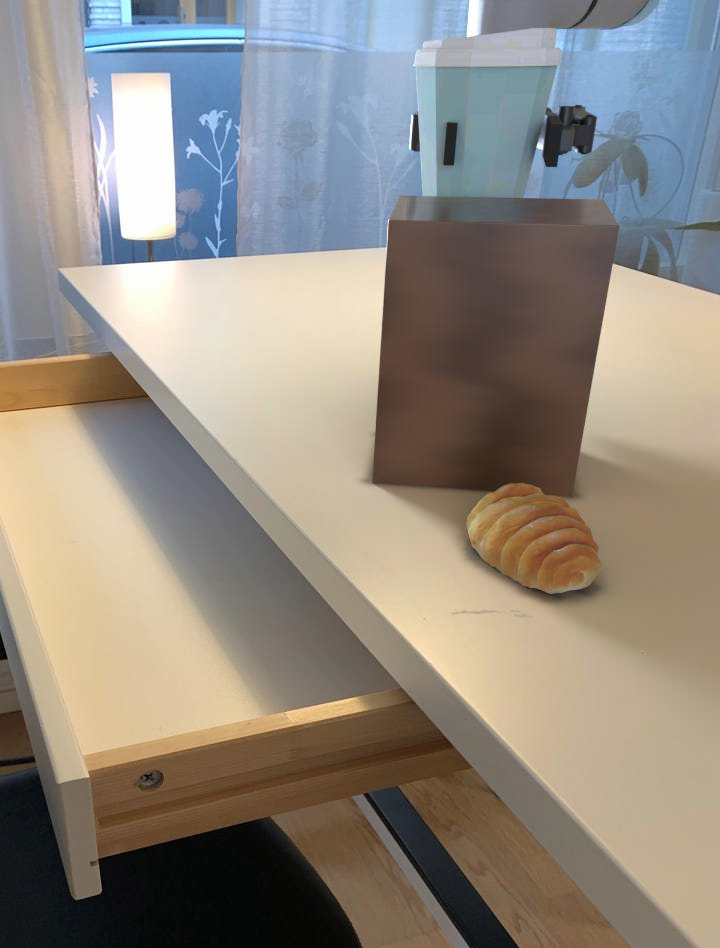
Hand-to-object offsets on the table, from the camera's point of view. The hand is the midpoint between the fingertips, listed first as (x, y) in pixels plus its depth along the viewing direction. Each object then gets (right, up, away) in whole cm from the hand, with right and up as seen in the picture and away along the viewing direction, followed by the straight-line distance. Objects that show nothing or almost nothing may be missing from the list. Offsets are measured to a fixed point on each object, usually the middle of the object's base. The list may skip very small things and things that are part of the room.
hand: (501, 145), depth 72 cm
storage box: (0, -18, +11) cm, 21 cm away
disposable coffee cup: (0, -4, +9) cm, 10 cm away
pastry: (0, -30, -8) cm, 31 cm away
